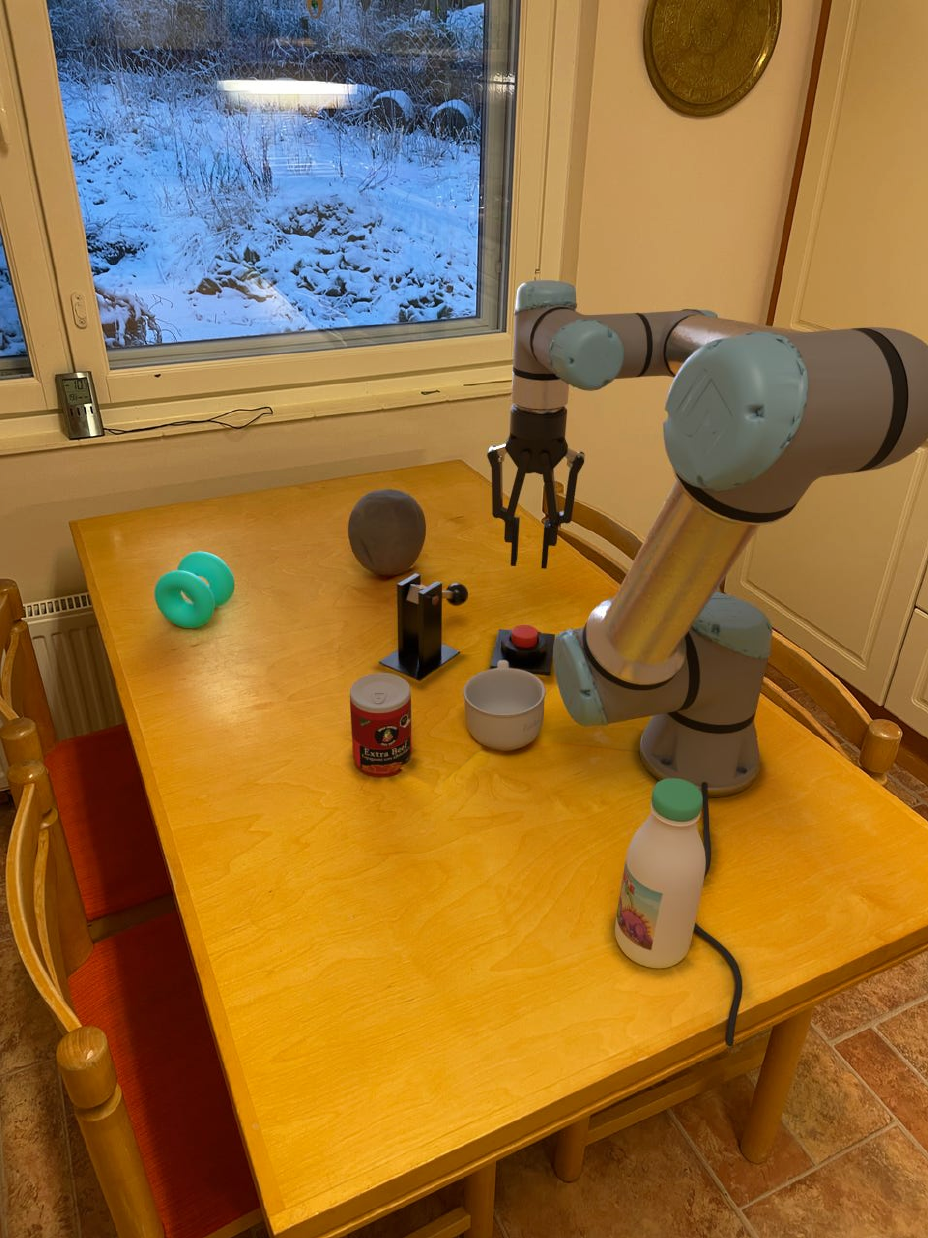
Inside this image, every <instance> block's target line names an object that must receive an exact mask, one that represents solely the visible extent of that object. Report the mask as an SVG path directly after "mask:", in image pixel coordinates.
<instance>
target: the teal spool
mask: <svg viewBox="0 0 928 1238" xmlns="http://www.w3.org/2000/svg"><path fill="white" fill-rule="evenodd" d="M176 568H177V569H175V570H171V571H168V572H166V573H164V574H163V575H162V576H161V577H159V579H158V580H157V582H156V584H155V587H154V594H153V595H154V600H155V604H156V606H157V608H158V610H159V612H160V613H161V615H163V616H164V618H166V619H167V620H168V621H169V622H171V623H172V624H174V625H176V626H177V627H181V628H185V629H186V628H187V629H197V628H201V627H202V626H203V625H206V624H207V623H208V622H209V621H210V619H212V617H213V615H214V613H215V608H217V607H221V606H224V605H225V604H226V603H228V602H229V601H230V599H231V598H232V597H233V594H234V592H235V586H236V585H235V584H236V583H235V577H234V575H233V572H232V570H231V569H230V567H229V565H228V564H227V563H226V562H225V561H224V560H223V559H222V558H221V557H219V556H218V555H216V554H213V553H211V552H207V551H194V552H190V553H188V554H186V555H185V556H184V557H183V558H182V559H181V560H180V561H179V563H178V565H177V567H176ZM202 578H203V579H202ZM204 579H205V580H204ZM206 582H207V583H208V584H207V583H206ZM183 595H184V596H185V597H186V598H187V599H188V600H190V601H191V602H189V601H187V600H186V599H185V598H184V597H183Z"/></svg>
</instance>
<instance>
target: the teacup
mask: <svg viewBox="0 0 928 1238" xmlns="http://www.w3.org/2000/svg"><path fill="white" fill-rule="evenodd" d="M546 690H547V689H546V686H545V684H544V682H543V681H542V679H541V678H540V677H538V676H536V674H531V673H529V672H527V671H524V670H520V669H513V668H509V663H508V661H506V660H500V661H498V663H497V668H495V669H487V670H483V671H480V672H477V673H476V674H474V675H473V676H471V677H470V678H469V679H468V680H466V682H465V684H464V686H463V689H462V696H463V699H464V701H463V702H464V713H465V715H464V717H465V722H466V726H467V729H468V732H469V734H470V735H471V737H472V738H473V739H474V740H475V741H476V742H478V743H479V744H481V745H483V746H485V747H486V748H487V747H488V748H490V749H492V750H495V751H500V752H501V751H502V752H506V751H507V752H508V751H509V752H510V751H514V750H518V749H520V748H522V747H525V746H527V745H529V744H530V743H531V742H533V741H534V740H535V739H536V738H537V737H538V735H539V734H540V732H541V730H542V728H543V725H544V717H545V699H546V694H547V693H546Z"/></svg>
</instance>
